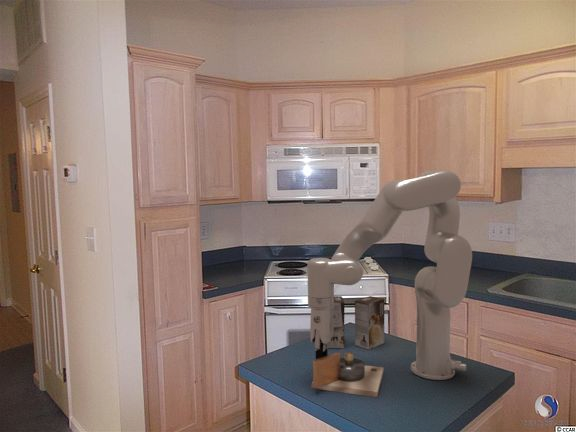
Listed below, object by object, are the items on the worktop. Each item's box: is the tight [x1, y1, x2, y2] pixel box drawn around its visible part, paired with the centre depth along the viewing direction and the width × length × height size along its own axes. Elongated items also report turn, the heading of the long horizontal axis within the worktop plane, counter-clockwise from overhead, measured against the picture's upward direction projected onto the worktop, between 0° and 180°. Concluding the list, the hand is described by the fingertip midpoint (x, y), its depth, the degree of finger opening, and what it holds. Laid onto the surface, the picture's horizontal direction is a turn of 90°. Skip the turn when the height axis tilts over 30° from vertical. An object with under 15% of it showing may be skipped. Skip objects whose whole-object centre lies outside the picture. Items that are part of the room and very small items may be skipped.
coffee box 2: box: [354, 295, 385, 350], centre depth 154 cm, size 9×6×16 cm
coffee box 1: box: [327, 295, 346, 349], centre depth 155 cm, size 9×6×16 cm
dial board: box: [311, 364, 384, 398], centre depth 127 cm, size 18×16×2 cm
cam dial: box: [312, 351, 366, 388], centre depth 124 cm, size 18×9×7 cm, turn 127°
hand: (321, 362), depth 128 cm, fingers closed
